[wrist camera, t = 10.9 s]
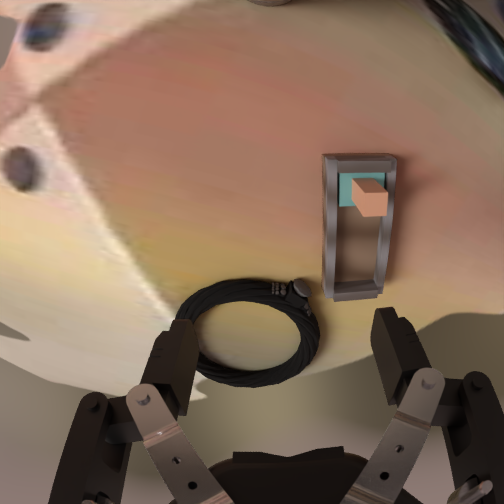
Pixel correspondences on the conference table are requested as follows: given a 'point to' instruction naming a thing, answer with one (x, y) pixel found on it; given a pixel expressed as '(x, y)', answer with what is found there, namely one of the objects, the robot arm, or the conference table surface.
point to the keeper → (363, 192)
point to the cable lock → (275, 296)
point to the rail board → (355, 230)
